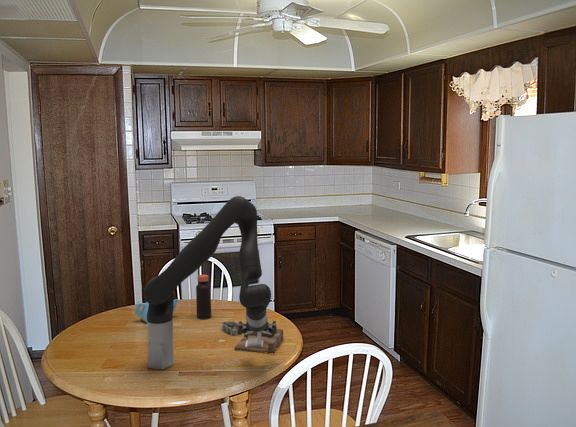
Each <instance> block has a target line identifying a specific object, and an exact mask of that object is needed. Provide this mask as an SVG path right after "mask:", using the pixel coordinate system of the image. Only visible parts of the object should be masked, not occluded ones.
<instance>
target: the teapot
mask: <svg viewBox="0 0 576 427" xmlns="http://www.w3.org/2000/svg"><path fill="white" fill-rule="evenodd" d="M178 302H179V299H178V298H175V299H174V308H173V313H174V312H175V310H176V307H177V304H178ZM148 306H149V303H148V302H146V301H145V302H137V303H136V307H135V309H134V314H135V315H137V317H140V318H141V320H143V322H144V323H146V324H147V312H148ZM141 307H143V308H142V310H141ZM140 310H141V311H140Z"/></svg>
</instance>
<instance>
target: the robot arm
mask: <svg viewBox="0 0 576 427" xmlns="http://www.w3.org/2000/svg"><path fill="white" fill-rule="evenodd" d="M257 212H258V210H257V207H256V206H255V205H254V203H252V202H251V201H250V200H248V199H246V198H245V197H243V196H241V195H236V196H233V197H232V198H230V199H229V200H227V202H226V203H225V204H224V205H223V207H222V208H221V209H219V211H218V212H217V213H216V215H215V216H214V217H213V218H212V219H211V221H209V222H208V223H207V224H206V225H205V227H203V228H202V229H201V231H200V232H199V233H198V234H196V235H195V236H194V237H193V238H192V239H191V240H190V241H189V242H188V243H187V244H186V245H185V246H184V247H183V248H182V249H181V251H180V252H179V253H178V254H177V255H176V256H175V257H174V259H173V260H172V262H171V263H170V264H169V265H168V267H166V268H165V270H163V271H162V272H161V273H160V274H158V275H156V276H154V277H152V278H151V279H150V280H149V281H148V282H147V283H146V285H145V286H144V289H143V298H144V300H145V303H146V302H148V303H149V306H148V312H147V323H146V325H147V326H146V327H147V328H146V330H147V344H146V347H147V349H146V350H147V368H148V369H155V370H165V369H167V368H169V367H170V368H171V367H172V366H174V364H175V353H174V351H175V350H174V321H173V320H174V318H173V315H174V312H173V308H174V292H175V290H176V289H177V288H178V287H179V285H180V284H181V283H183V282H184V281H185V280H186V279H187V278H189V277H190V276H191V275H193V273H195V272H197V271H198V270H199V269H200V268H201V267H202V266H203V265H204V264H205V263H206V262H208V261H209V259H211V258H212V257H213V256H214V254H215V253H216V251H217V249H218V247H219V245H220V244H219V243H220V241H221V239H222V237H223V235H224V234H225V233H226V231H228V229H229V228H231V226H232V225H234V224H236V225H238V228H239V231H240V237H241V243H240V247H239V251H238V252H239V254H238V261H239V269H240V277H241V278H240V279H241V282H240V289H239V293H238V294H239V295H238V296H239V299H238V300H239V303H240V305H241V306H242V307H244V308H245V310H246V312H245V321H246V322H245V323H244V324H243V321H241V320H240V321H238V323H239V333H238V335H243V337H246V338H248V334H250V333H252V332H263V333H265V334H268V338H270V337H272V333H274V334H277V329H278V326H277V322H276V320H273V321H272V322H270V323H269V321H268V311H267V308H268V306H270V305H269V304H270V303H271V299H272V290H271V288H270V286H269V285H267V284H265V283H258V284H252V285H250V283H252V282H254V281H257V280H258V279H260V278H261V277H262V275H263V272H262V270H263V269H262V264H261V260H260V254H259V245H258V213H257ZM243 328H244V329H243ZM242 333H243V334H242Z"/></svg>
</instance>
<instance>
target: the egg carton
mask: <svg viewBox="0 0 576 427" xmlns="http://www.w3.org/2000/svg"><path fill="white" fill-rule="evenodd" d="M220 323H221V325H222V326H221V328H222V332H223V331H225V332H226V333H227V334H229V333H230V336H238V335H239V322H235V321H234V320H232V321H231V320H229V321H228V320H227V321H224V322H223V321H221V322H220ZM242 323H243V322H242ZM243 324H245V322H244V323H243ZM244 328H245V327H244ZM244 328H243V329H244Z"/></svg>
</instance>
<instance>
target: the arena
mask: <svg viewBox="0 0 576 427" xmlns="http://www.w3.org/2000/svg"><path fill="white" fill-rule="evenodd" d="M261 333H262V343H261V347H247V342H248V338H257V332H252V333H250V334H248V338H246V337H244V336H243V337H242V338H241V340H239V341H238V342H237V344H236V345H235V346H234V347H233V349H234V351H240V350H241V352H242V351H243V352H250V351H252V353H259V352H267V353H266V354H269V353H273V354H275V352H274V351H277V349H278V347H279V346H280V344H281V343H282V342H283V340H284V329H278V328H277V334H274V333H272V337H270V338H268V334H265V333H263V332H261ZM282 339H283V340H282ZM280 342H281V343H280ZM278 345H279V346H278ZM276 348H277V349H276Z"/></svg>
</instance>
